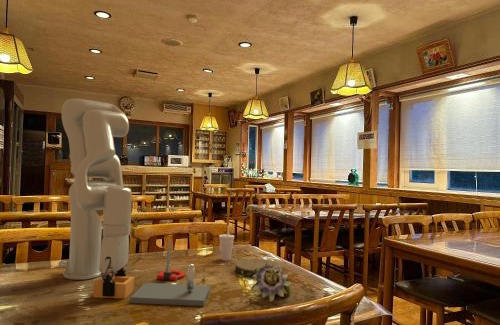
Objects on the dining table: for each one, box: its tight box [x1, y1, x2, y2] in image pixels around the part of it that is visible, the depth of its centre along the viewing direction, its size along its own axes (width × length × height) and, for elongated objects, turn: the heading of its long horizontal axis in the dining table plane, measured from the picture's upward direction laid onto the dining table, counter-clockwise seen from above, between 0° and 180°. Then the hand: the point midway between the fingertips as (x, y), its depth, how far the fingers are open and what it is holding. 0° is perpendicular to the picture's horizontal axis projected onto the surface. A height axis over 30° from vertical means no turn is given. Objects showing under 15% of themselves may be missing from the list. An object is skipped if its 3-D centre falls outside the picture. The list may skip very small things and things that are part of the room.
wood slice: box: [235, 258, 280, 279], centre depth 127 cm, size 16×16×3 cm
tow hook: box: [156, 240, 185, 282], centre depth 119 cm, size 8×13×9 cm
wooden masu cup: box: [92, 276, 135, 300], centre depth 101 cm, size 9×7×4 cm
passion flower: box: [250, 261, 292, 303], centre depth 103 cm, size 11×11×12 cm
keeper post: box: [186, 263, 195, 292], centre depth 100 cm, size 2×2×8 cm
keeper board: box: [130, 282, 211, 307], centre depth 100 cm, size 20×12×2 cm, turn 88°
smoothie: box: [218, 224, 235, 262], centre depth 143 cm, size 6×6×14 cm
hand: (114, 290), depth 101 cm, fingers open, 7 cm apart
